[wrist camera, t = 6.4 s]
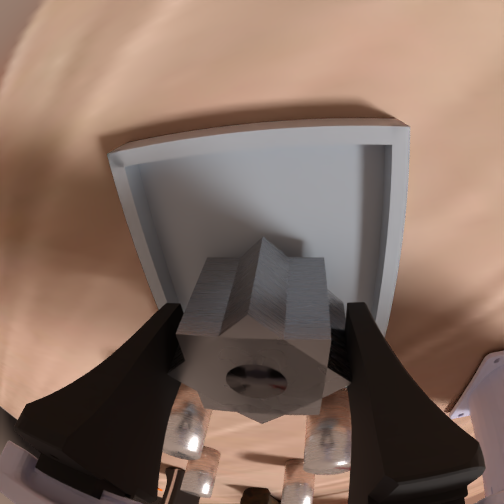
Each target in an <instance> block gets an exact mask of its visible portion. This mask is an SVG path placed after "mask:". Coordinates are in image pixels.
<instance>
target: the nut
mask: <svg viewBox="0 0 504 504" xmlns="http://www.w3.org/2000/svg"><path fill="white" fill-rule="evenodd" d="M345 321H346V318H345V310H344V303H343V301H341V300H340V299H339V298H338V297H337V296H335V295H334V294H333V293H332V292H331V291H329V290H328V289H327V280H326V270H325V261H324V257H288V256H287V255H286V254H284V253H283V252H282V251H281V250H279V249H278V248H277V247H276V246H275V245H273V244H272V243H271V242H270V241H268V240H267V239H266V238H265V237H263V236H262V237H261V238H260V239H259V240H258V241H257V242H256V243H255V244H254V245H253V246H252V247H251V248H250V249H249V250H248V251H247V252H246V253H244V254H243V255H242V256H241V257H207V259H206V261H205V264H204V266H203V268H202V271H201V273H200V276H199V278H198V280H197V283H196V285H195V287H194V290H193V292H192V295H191V297H190V300H189V302H188V304H187V307H186V309H185V312H184V314H183V317H182V319H181V322H180V324H179V327H178V329H177V332H176V337H177V339H178V342H179V346H178V349H177V351H176V353H175V355H174V358H173V360H172V362H171V365H170V368H169V370H168V373H167V375H169V376H171V377H172V378H174V379H176V380H178V381H179V382H181V383H183V384H185V385H186V386H188V387H190V388H192V389H194V390H195V391H197V392H198V395H199V397H200V399H201V402H202V404H203V407H204V409H212V410H221V411H232V412H238V413H240V414H242V415H244V416H246V417H248V418H251V419H253V420H255V421H257V422H259V423H262V424H263V423H265V422H268V421H271V420H273V419H276V418H278V417H281V416H283V415H319V414H320V408H321V403H322V398H324V397H326V396H328V395H330V394H332V393H334V392H336V391H338V390H340V389H342V388H344V387H346V386H348V385H350V384H352V379H351V373H350V367H349V361H348V355H347V349H346V338H345Z"/></svg>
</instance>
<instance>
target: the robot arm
mask: <svg viewBox="0 0 504 504" xmlns="http://www.w3.org/2000/svg"><path fill="white" fill-rule="evenodd" d="M183 314H184V312H183V309H182V306H181V304H180V303H166V304H165V305H163V306H162V307H161V308H160V309H159V310H158V311H157V312H156V313H155V314H154V315H153V316H152V317H151V318H150V319H149V320H148V321H147V322H146V323H145V324H144V325H143V326H142V327H141V328H140V329H139V330H138V331H137V332H136V333H135V334H134V335H133V336H132V337H131V338H130V339H129V340H127V341H126V342H125V343H124V344H123V345H122V346H121V347H120V348H119V349H117V350H116V351H115V352H114V353H113V354H112V355H111V356H109V357H108V358H107V359H106V360H104V361H103V362H102V363H101V364H99V365H98V366H97V367H95V368H94V369H93V370H91V371H90V372H88V373H87V374H85V375H84V376H82V377H80V378H79V379H77V380H76V381H74V382H73V383H71V384H69V385H67V386H66V387H64V388H62V389H60V390H58V391H56V392H54V393H52V394H50V395H48V396H46V397H43V398H41V399H38V400H36V401H34V402H31V403H28V404H26V406H25V408H24V409H23V411H22V413H21V415H20V417H19V419H18V421H17V422H16V424H15V426H14V429H15V431H16V433H17V434H19V436H21V437H22V438H23V439H24V440H25V441H26V442H28V443H29V444H30V445H32V446H33V447H34V448H35V449H36V450H38V451H39V452H40V453H41V455H40V457H39V460H37V458H36V457H34V456H33V455H32V454H30V453H29V452H27V451H26V450H24V449H23V448H21V447H19V446H17V445H16V444H14V443H13V442H11V441H8V442H7V444H6V446H5V448H4V450H3V452H2V454H1V456H0V492H1V493H2V494H4V495H5V496H6V497H7V498H8V499H10V500H11V501H12V502H14V503H15V504H142V503H139V502H136V501H133V500H130V499H127V498H124V497H128V498H131V499H133V498H134V499H137V500H140V501H143V502H147V503H152V502H154V501H156V500H157V492H158V480H159V471H160V463H161V456H162V450H163V445H164V439H165V434H166V430H167V425H168V421H169V416H170V413H171V410H172V407H173V404H174V401H175V398H176V396H177V393H178V390H179V387H180V385H181V382H179V381H178V380H176V379H174V378H172V377H171V376H169V375H167V373H168V370H169V368H170V365H171V362H172V360H173V358H174V355H175V353H176V351H177V349H178V346H179V342H178V339H177V337H176V332H177V329H178V327H179V324H180V322H181V319H182V317H183ZM345 338H346V349H347V355H348V361H349V367H350V373H351V379H352V384H350V385H348V386H347V390H348V398H349V406H350V415H351V467H350V484H349V497H348V504H465V501H464V497H466V496H467V495H468V490H467V485H469V484H470V483H471V482H473V481H474V480H476V479H477V478H478V477H480V476H481V475H482V476H483V483H484V490H485V498H483V499H481V500H479V501H478V502H477V503H475V504H504V351H499V352H493V353H490V354H488V355H487V356H485V358H484V359H483V361H482V363H481V365H480V366H479V368H478V370H477V372H476V373H475V375H474V377H473V378H472V380H471V382H470V383H469V385H468V386H467V388H466V390H465V391H464V393H463V394H462V396H461V397H460V399H459V400H458V402H457V403H456V405H455V406H454V408H453V409H452V411H451V412H450V413H449V417H450V418H449V417H448V416H447V415H446V414H445V413H444V412H443V411H442V410H441V409H440V408H439V407H438V406H437V405H436V404H435V403H434V402H433V401H432V400H431V399H430V398H429V397H428V396H427V395H426V394H425V393H424V392H423V390H422V389H421V388H420V387H419V386H418V385H417V383H416V382H415V381H414V380H413V378H412V377H411V376H410V375H409V373H408V372H407V371H406V369H405V368H404V367H403V365H402V364H401V362H400V361H399V359H398V358H397V357H396V355H395V354H394V352H393V351H392V349H391V348H390V346H389V344H388V343H387V341H386V339H385V338H384V336H383V335H382V333H381V331H380V329H379V328H378V326H377V324H376V322H375V320H374V319H373V317H372V315H371V313H370V311H369V309H368V306H367V304H366V303H365V302H350V303H347V310H346V321H345ZM469 415H470V416H471V420H472V425H473V429H474V433H475V438H476V439H474V438H473V437H472V436H470V435H469V434H468V433H466V432H465V431H464V430H463V429H461V428H460V427H459V426H458V425H457V424H456V423H454V422H453V421H452V420H451V419H455V418H460V417H464V416H469Z"/></svg>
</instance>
